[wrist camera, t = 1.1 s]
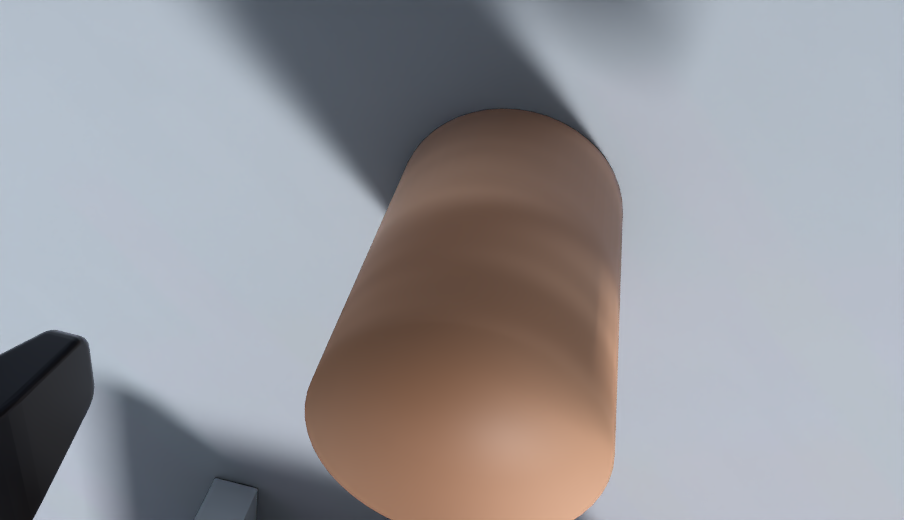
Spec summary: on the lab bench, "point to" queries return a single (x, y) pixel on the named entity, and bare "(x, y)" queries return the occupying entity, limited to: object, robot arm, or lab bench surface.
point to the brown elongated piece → (481, 331)
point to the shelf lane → (228, 502)
